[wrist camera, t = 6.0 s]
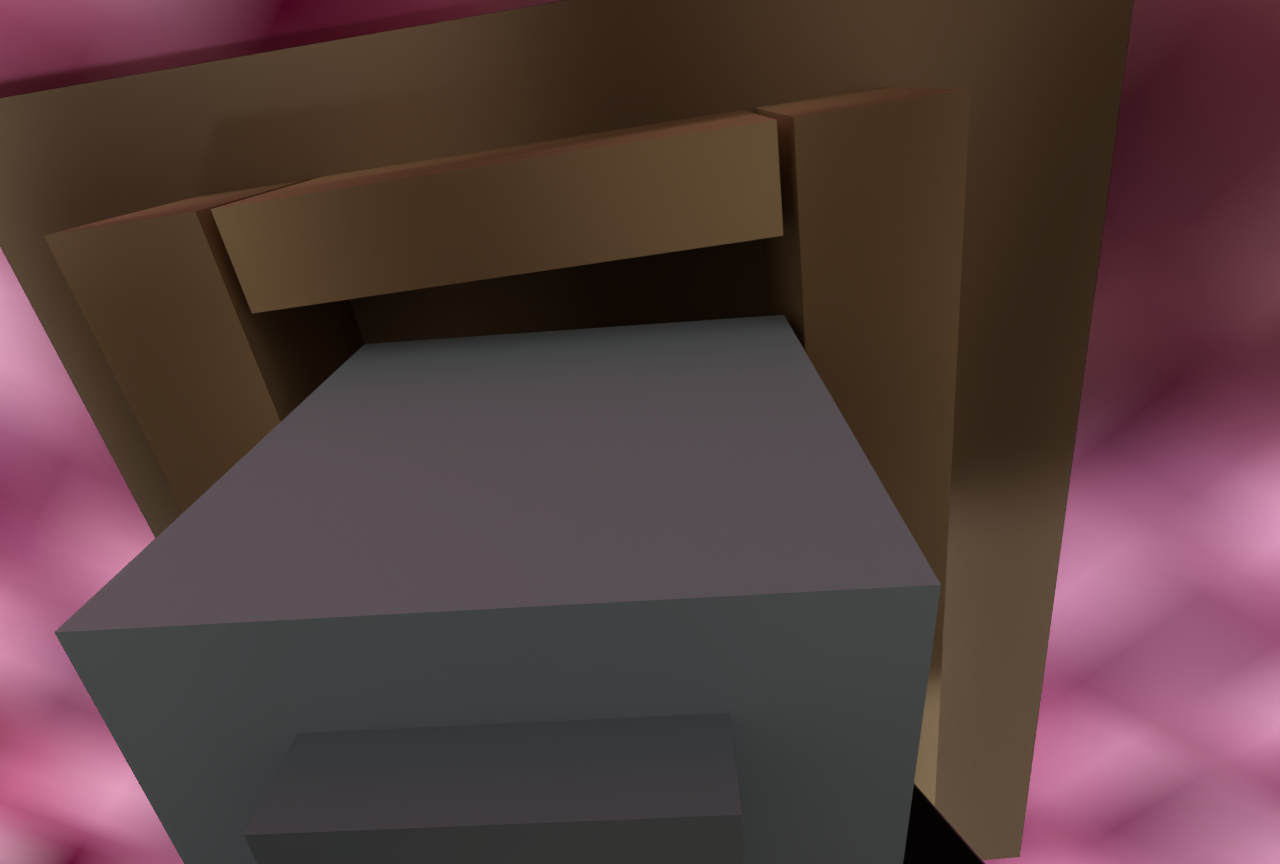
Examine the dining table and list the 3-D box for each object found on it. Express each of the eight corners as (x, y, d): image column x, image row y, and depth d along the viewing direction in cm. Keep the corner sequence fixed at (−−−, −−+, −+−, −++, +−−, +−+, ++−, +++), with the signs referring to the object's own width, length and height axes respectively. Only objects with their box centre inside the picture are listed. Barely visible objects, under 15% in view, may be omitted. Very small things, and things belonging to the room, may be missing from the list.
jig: (1113, -88, 8) (1357, -178, 5) (1006, 829, 15) (1088, 998, 12) (-29, 109, 9) (-328, 121, 6) (364, 884, 16) (305, 1053, 13)
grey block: (783, 315, 8) (992, 675, 3) (776, 895, 12) (856, 1403, 7) (364, 344, 8) (-47, 727, 3) (509, 905, 12) (424, 1407, 8)
